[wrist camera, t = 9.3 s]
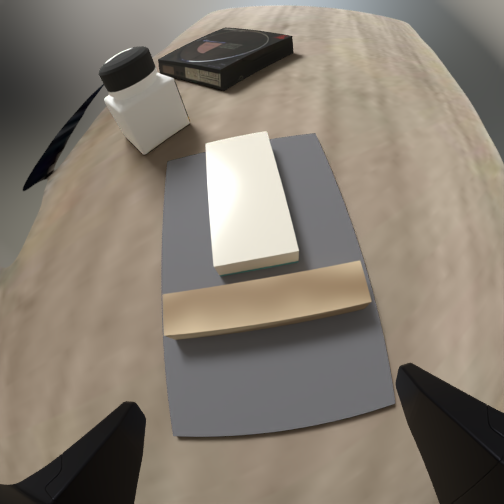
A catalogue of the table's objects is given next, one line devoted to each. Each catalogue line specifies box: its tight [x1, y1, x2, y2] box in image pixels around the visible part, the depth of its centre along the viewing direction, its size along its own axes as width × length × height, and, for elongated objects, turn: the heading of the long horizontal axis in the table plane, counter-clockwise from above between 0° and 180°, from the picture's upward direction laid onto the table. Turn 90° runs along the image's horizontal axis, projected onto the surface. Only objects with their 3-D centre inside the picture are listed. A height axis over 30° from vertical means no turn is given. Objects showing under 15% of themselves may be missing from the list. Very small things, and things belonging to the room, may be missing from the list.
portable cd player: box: [158, 28, 293, 91], centre depth 37 cm, size 16×17×4 cm
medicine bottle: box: [99, 47, 190, 154], centre depth 26 cm, size 7×7×12 cm
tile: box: [206, 131, 299, 277], centre depth 23 cm, size 2×6×13 cm
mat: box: [162, 133, 395, 437], centre depth 21 cm, size 26×16×1 cm, turn 8°
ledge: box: [163, 260, 372, 340], centre depth 18 cm, size 3×14×2 cm, turn 97°
